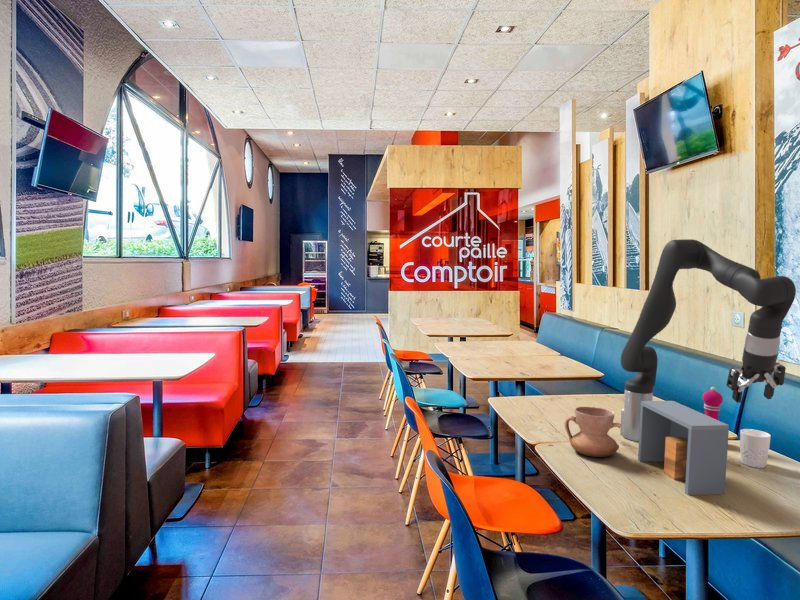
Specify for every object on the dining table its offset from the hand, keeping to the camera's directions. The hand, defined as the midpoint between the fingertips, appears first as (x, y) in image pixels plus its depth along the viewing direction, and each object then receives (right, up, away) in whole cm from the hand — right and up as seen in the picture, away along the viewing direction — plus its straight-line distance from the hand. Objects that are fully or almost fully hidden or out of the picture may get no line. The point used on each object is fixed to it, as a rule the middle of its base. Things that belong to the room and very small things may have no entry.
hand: (751, 399), depth 143 cm
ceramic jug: (-35, -23, +26) cm, 50 cm away
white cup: (+13, -24, +18) cm, 33 cm away
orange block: (-17, -24, +8) cm, 30 cm away
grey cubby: (-17, -24, +8) cm, 30 cm away
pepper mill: (+11, -23, +37) cm, 45 cm away
